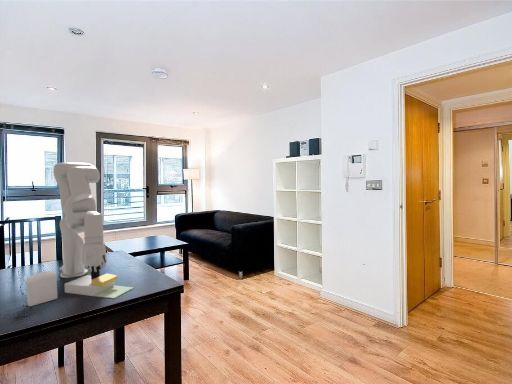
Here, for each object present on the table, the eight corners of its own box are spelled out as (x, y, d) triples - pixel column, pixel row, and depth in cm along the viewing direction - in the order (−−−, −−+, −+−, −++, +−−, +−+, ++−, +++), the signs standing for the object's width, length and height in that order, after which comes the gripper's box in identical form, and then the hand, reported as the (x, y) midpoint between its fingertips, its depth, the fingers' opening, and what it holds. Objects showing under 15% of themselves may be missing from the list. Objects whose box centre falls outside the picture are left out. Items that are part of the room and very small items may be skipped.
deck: (64, 292, 129) (64, 283, 129) (87, 283, 141) (86, 275, 140) (93, 296, 125) (93, 287, 124) (114, 286, 136) (113, 277, 136)
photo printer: (28, 307, 114) (27, 277, 114) (26, 304, 117) (24, 274, 116) (59, 299, 122) (57, 270, 121) (55, 296, 125) (54, 268, 124)
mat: (94, 296, 125) (93, 295, 125) (114, 286, 136) (114, 285, 136) (114, 298, 122) (114, 297, 122) (133, 288, 133) (133, 287, 133)
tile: (91, 284, 127) (91, 279, 127) (106, 277, 136) (107, 273, 136) (102, 286, 126) (102, 282, 125) (117, 279, 134) (117, 275, 134)
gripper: (74, 241, 129) (75, 281, 130) (100, 242, 125) (102, 283, 126) (88, 237, 136) (89, 275, 137) (113, 239, 132) (115, 278, 133)
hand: (95, 279), depth 131 cm, fingers closed
